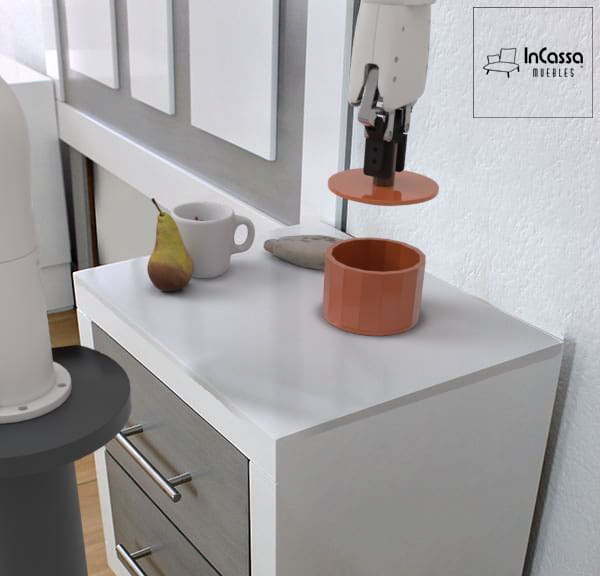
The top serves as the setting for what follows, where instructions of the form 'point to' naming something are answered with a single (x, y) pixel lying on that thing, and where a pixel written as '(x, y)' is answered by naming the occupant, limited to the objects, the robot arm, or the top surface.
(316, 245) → the decorative stone
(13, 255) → the robot arm
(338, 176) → the lid
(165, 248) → the fruit
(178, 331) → the top surface
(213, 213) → the cup
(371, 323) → the pot
